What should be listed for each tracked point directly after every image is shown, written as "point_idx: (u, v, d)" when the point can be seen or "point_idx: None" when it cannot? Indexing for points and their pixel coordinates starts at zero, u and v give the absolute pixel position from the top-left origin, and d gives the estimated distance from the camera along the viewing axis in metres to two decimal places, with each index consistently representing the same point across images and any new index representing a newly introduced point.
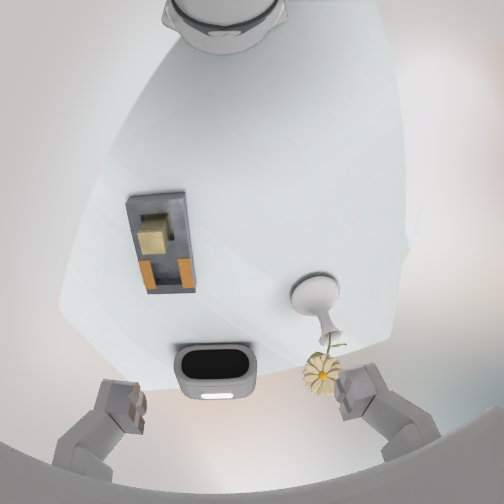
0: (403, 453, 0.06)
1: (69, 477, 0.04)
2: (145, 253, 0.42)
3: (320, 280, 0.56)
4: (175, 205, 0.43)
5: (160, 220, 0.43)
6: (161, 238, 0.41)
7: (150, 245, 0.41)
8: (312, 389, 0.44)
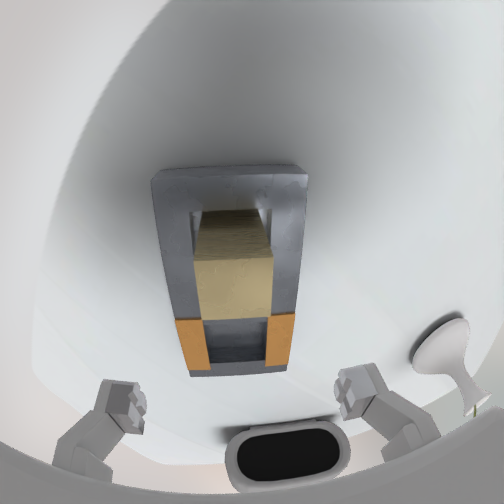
0: (403, 453, 0.06)
1: (69, 477, 0.04)
2: (211, 317, 0.15)
3: (459, 324, 0.29)
4: (287, 190, 0.17)
5: (249, 228, 0.17)
6: (268, 277, 0.14)
7: (230, 296, 0.15)
8: None
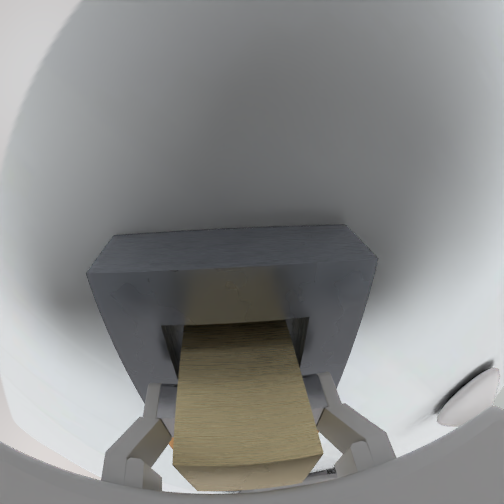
0: (351, 472, 0.06)
1: (69, 477, 0.04)
2: (211, 490, 0.07)
3: (491, 377, 0.21)
4: (339, 287, 0.09)
5: (270, 362, 0.09)
6: (308, 466, 0.06)
7: (241, 482, 0.07)
8: None
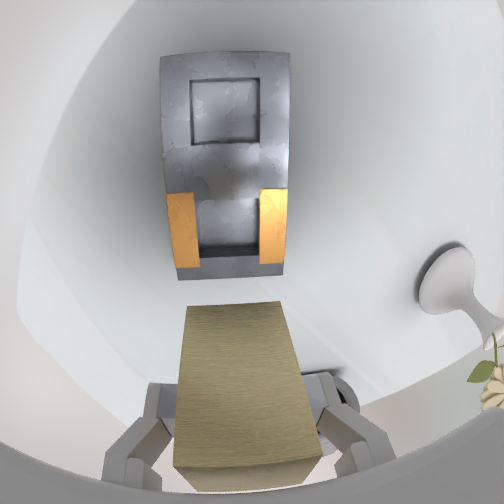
0: (351, 472, 0.06)
1: (69, 477, 0.04)
2: (211, 490, 0.07)
3: (462, 251, 0.29)
4: (272, 64, 0.17)
5: (271, 363, 0.09)
6: (308, 467, 0.06)
7: (241, 483, 0.07)
8: None
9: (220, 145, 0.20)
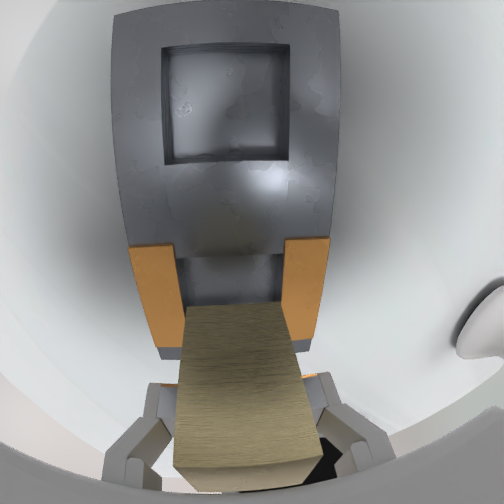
0: (351, 472, 0.06)
1: (69, 477, 0.04)
2: (211, 490, 0.07)
3: None
4: (311, 24, 0.08)
5: (271, 364, 0.09)
6: (308, 467, 0.06)
7: (241, 483, 0.07)
8: None
9: (217, 164, 0.11)
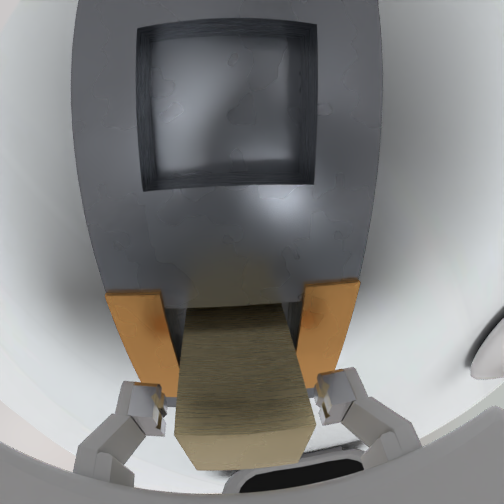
0: (380, 462, 0.06)
1: (69, 477, 0.04)
2: (210, 468, 0.08)
3: None
4: (344, 1, 0.05)
5: (267, 342, 0.10)
6: (302, 441, 0.07)
7: (239, 458, 0.07)
8: None
9: (215, 190, 0.08)
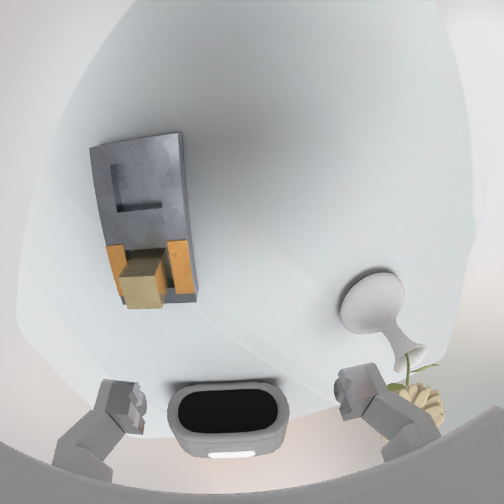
0: (403, 453, 0.06)
1: (69, 477, 0.04)
2: (132, 307, 0.27)
3: (383, 277, 0.36)
4: (165, 145, 0.25)
5: (153, 259, 0.29)
6: (154, 286, 0.26)
7: (138, 296, 0.27)
8: None
9: (135, 211, 0.28)
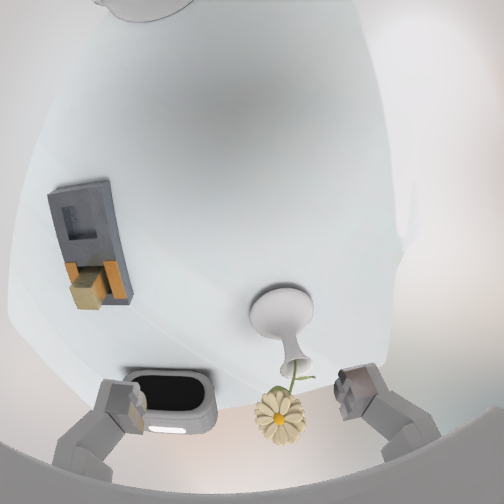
0: (403, 453, 0.06)
1: (69, 477, 0.04)
2: (80, 308, 0.35)
3: (284, 292, 0.44)
4: (94, 194, 0.32)
5: (94, 274, 0.37)
6: (91, 294, 0.34)
7: (83, 300, 0.34)
8: (267, 435, 0.30)
9: (81, 240, 0.35)
